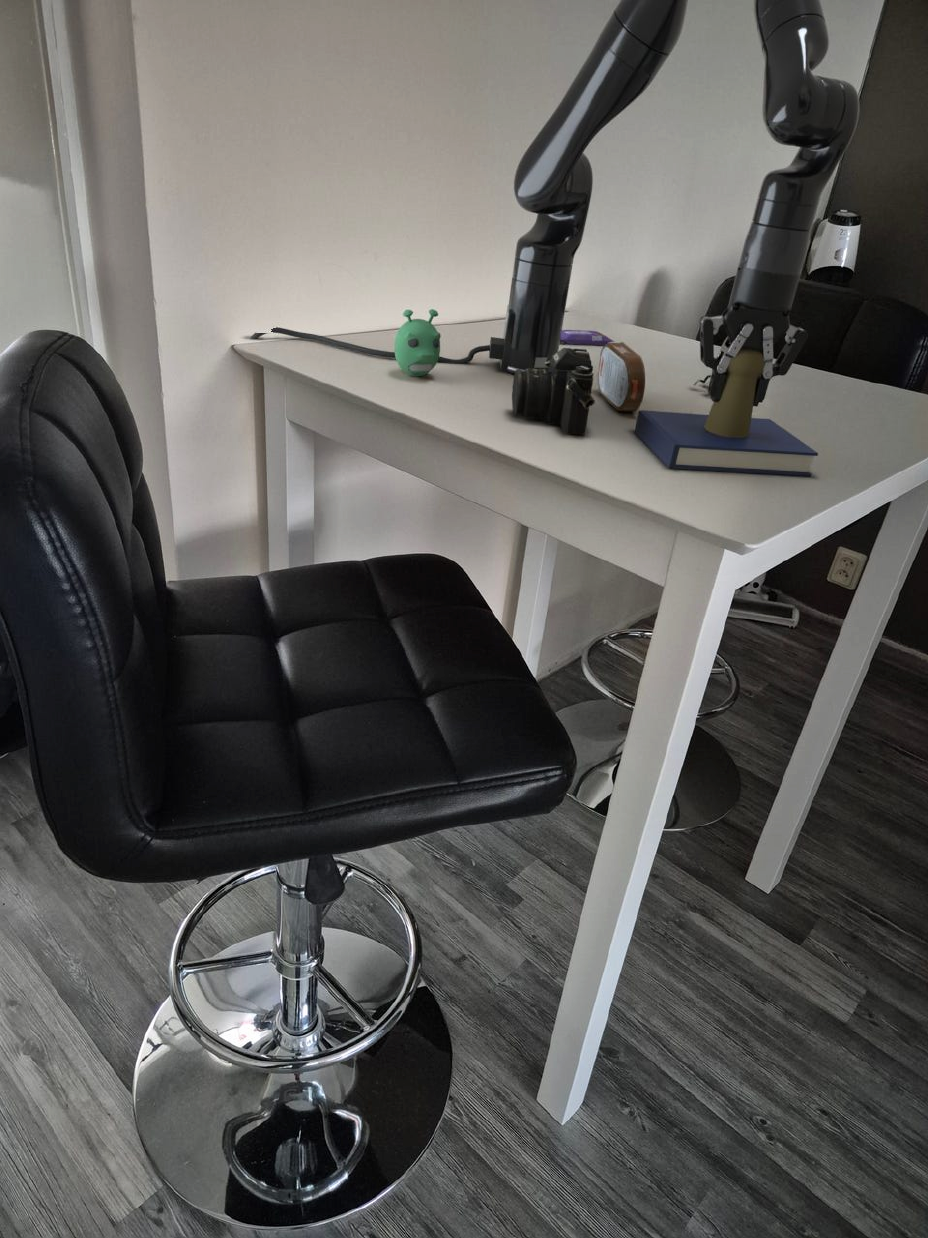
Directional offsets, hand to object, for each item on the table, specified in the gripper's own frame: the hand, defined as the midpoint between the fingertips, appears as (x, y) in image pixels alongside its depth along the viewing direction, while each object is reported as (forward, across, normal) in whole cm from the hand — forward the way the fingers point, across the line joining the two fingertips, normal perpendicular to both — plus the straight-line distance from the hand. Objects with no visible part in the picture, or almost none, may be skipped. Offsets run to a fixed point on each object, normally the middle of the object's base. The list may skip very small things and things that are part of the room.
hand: (733, 401), depth 116 cm
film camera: (+7, +23, -7) cm, 25 cm away
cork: (+4, 0, 0) cm, 4 cm away
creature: (+7, -7, -33) cm, 35 cm away
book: (+7, 0, 0) cm, 7 cm away
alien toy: (+7, +43, -21) cm, 48 cm away
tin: (+7, +12, -19) cm, 24 cm away
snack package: (+7, +13, -60) cm, 62 cm away
